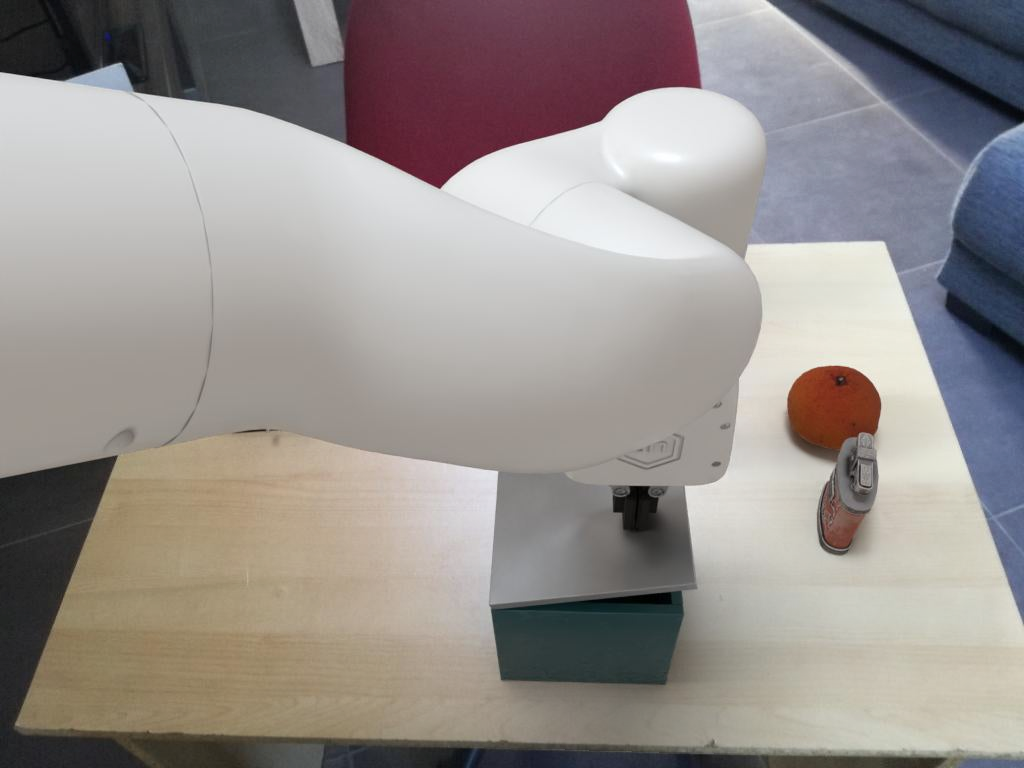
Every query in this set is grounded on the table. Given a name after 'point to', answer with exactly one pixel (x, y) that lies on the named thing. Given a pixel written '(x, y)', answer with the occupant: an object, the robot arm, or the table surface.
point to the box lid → (582, 544)
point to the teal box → (590, 639)
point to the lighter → (847, 494)
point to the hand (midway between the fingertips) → (633, 512)
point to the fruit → (833, 405)
